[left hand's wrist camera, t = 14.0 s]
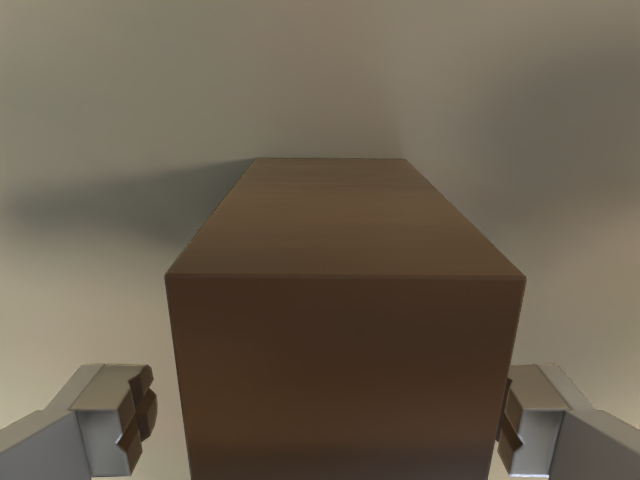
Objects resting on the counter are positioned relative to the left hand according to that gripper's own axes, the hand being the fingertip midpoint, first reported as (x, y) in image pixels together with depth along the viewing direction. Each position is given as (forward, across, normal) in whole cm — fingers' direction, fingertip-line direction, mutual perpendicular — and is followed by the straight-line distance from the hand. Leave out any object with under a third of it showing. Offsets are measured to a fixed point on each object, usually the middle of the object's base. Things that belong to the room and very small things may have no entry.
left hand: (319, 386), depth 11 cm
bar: (+6, 0, +8) cm, 10 cm away
